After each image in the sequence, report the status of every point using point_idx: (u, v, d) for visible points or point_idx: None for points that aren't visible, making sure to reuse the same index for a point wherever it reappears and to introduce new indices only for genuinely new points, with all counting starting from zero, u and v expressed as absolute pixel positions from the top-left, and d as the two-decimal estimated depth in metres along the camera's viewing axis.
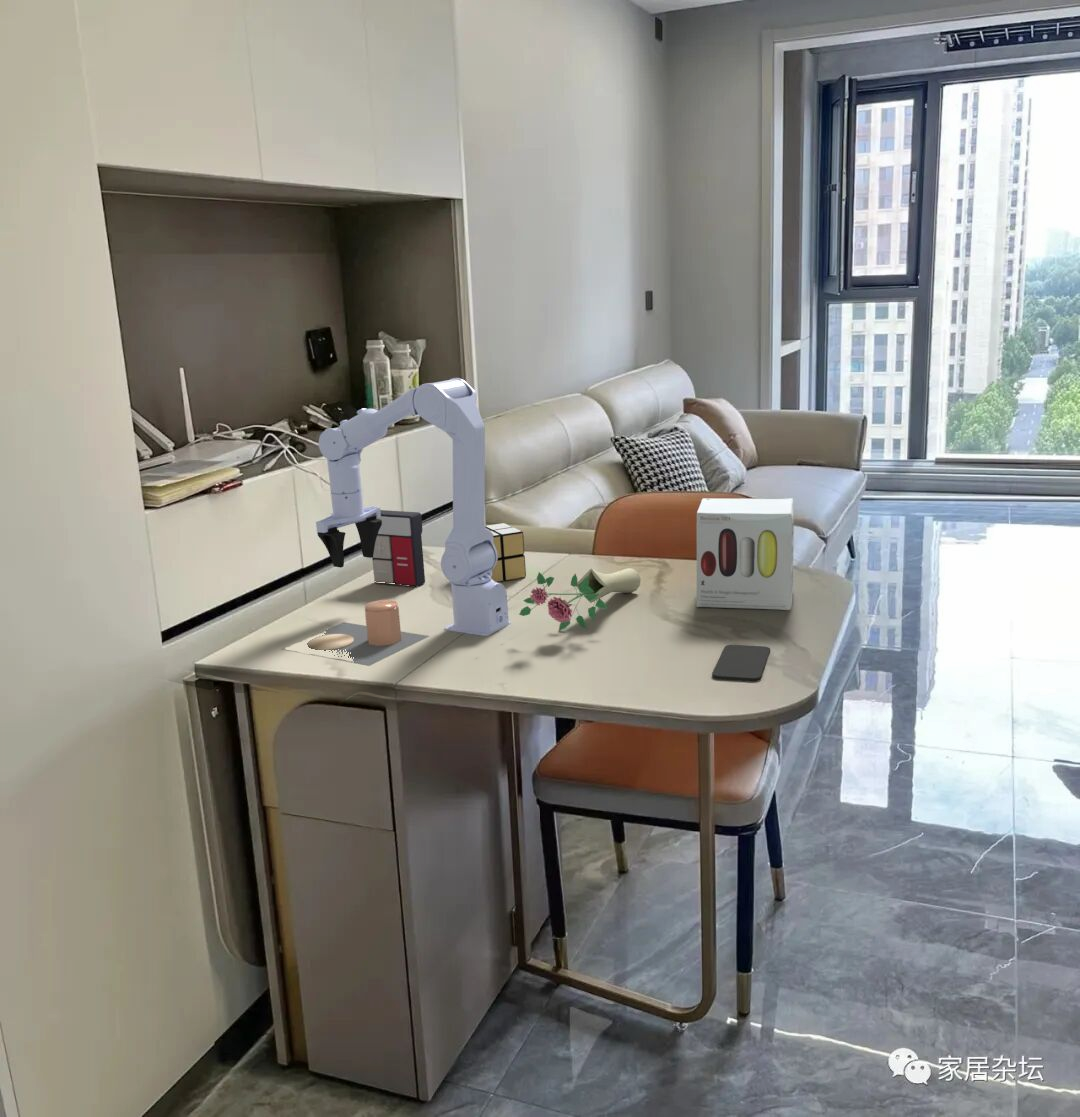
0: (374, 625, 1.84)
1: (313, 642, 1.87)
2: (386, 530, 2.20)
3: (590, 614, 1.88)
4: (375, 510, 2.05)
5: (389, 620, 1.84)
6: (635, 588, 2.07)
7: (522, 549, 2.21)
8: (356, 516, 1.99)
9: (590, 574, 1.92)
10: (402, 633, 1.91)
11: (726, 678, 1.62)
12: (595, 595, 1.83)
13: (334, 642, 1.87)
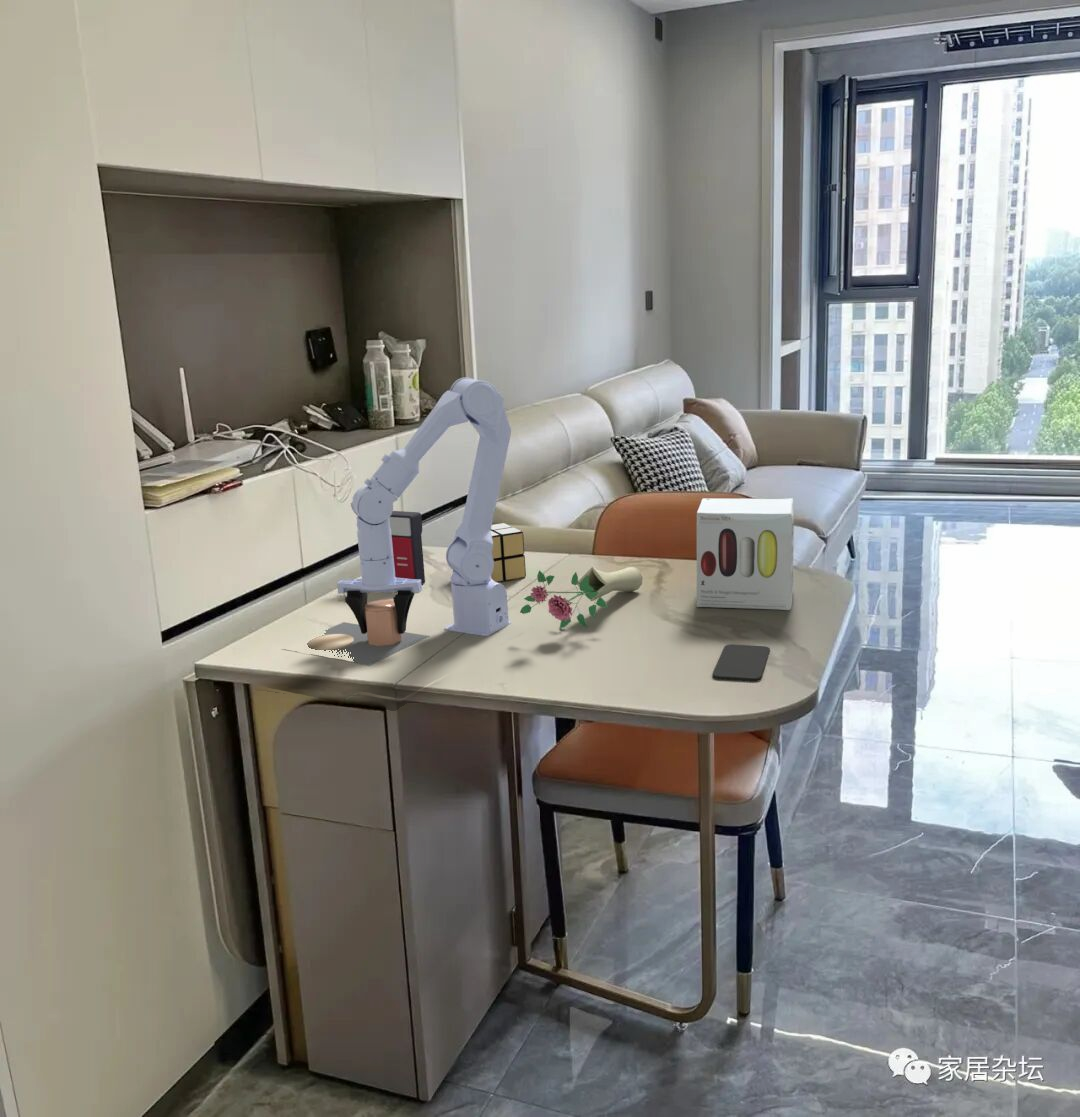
0: (374, 625, 1.84)
1: (313, 642, 1.87)
2: None
3: (591, 612, 1.89)
4: (409, 584, 1.83)
5: (389, 620, 1.84)
6: (637, 587, 2.08)
7: (522, 549, 2.21)
8: (370, 586, 1.82)
9: (591, 573, 1.93)
10: None
11: (726, 678, 1.62)
12: (595, 593, 1.84)
13: (334, 642, 1.87)
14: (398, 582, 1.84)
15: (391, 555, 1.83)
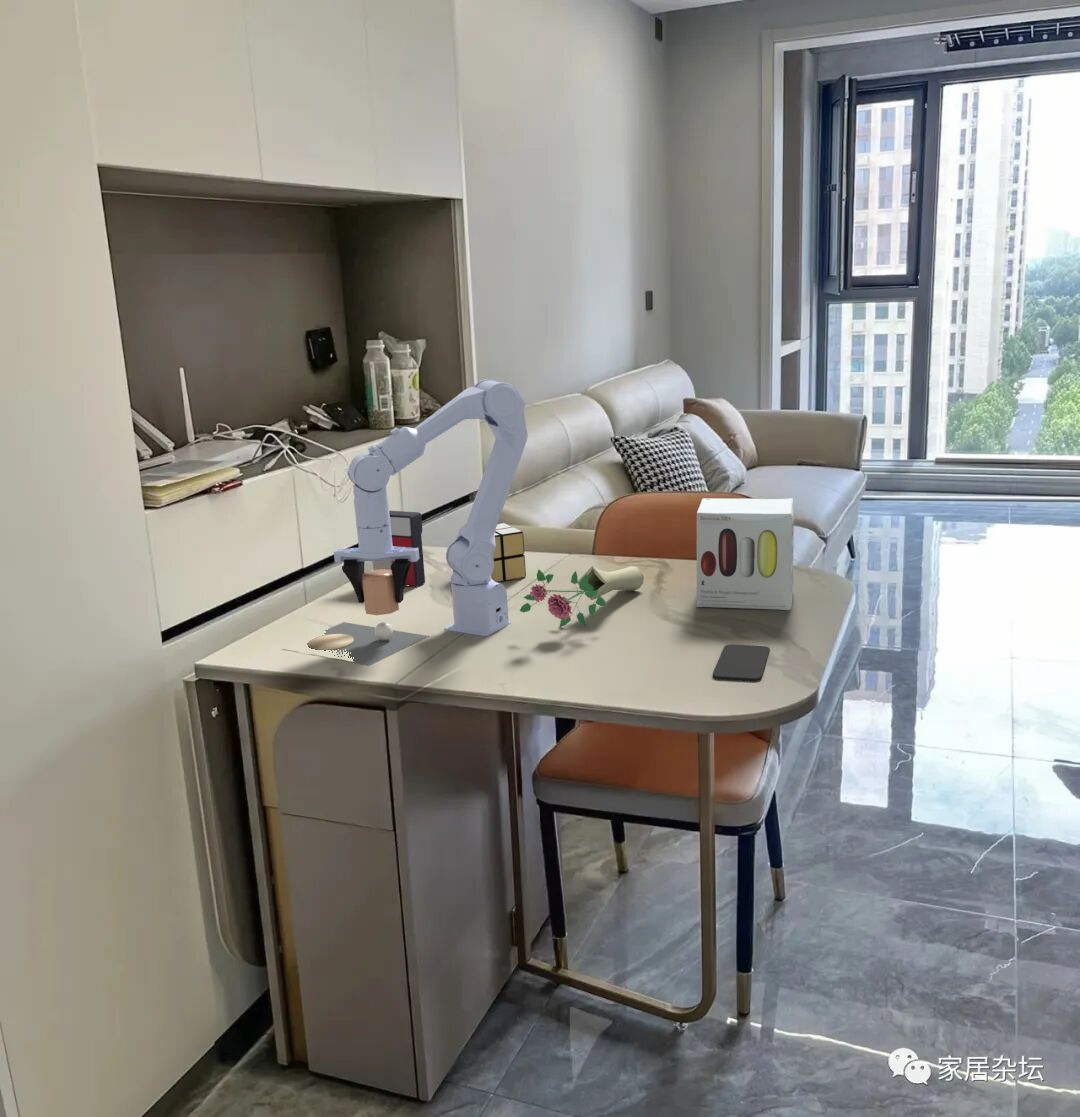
0: (371, 594, 1.83)
1: (313, 642, 1.87)
2: None
3: (590, 611, 1.89)
4: (406, 553, 1.81)
5: (386, 589, 1.83)
6: (638, 586, 2.08)
7: (522, 549, 2.21)
8: (367, 554, 1.81)
9: (591, 572, 1.94)
10: (402, 633, 1.91)
11: (727, 678, 1.62)
12: (595, 592, 1.85)
13: (334, 642, 1.87)
14: (395, 550, 1.83)
15: (388, 523, 1.81)
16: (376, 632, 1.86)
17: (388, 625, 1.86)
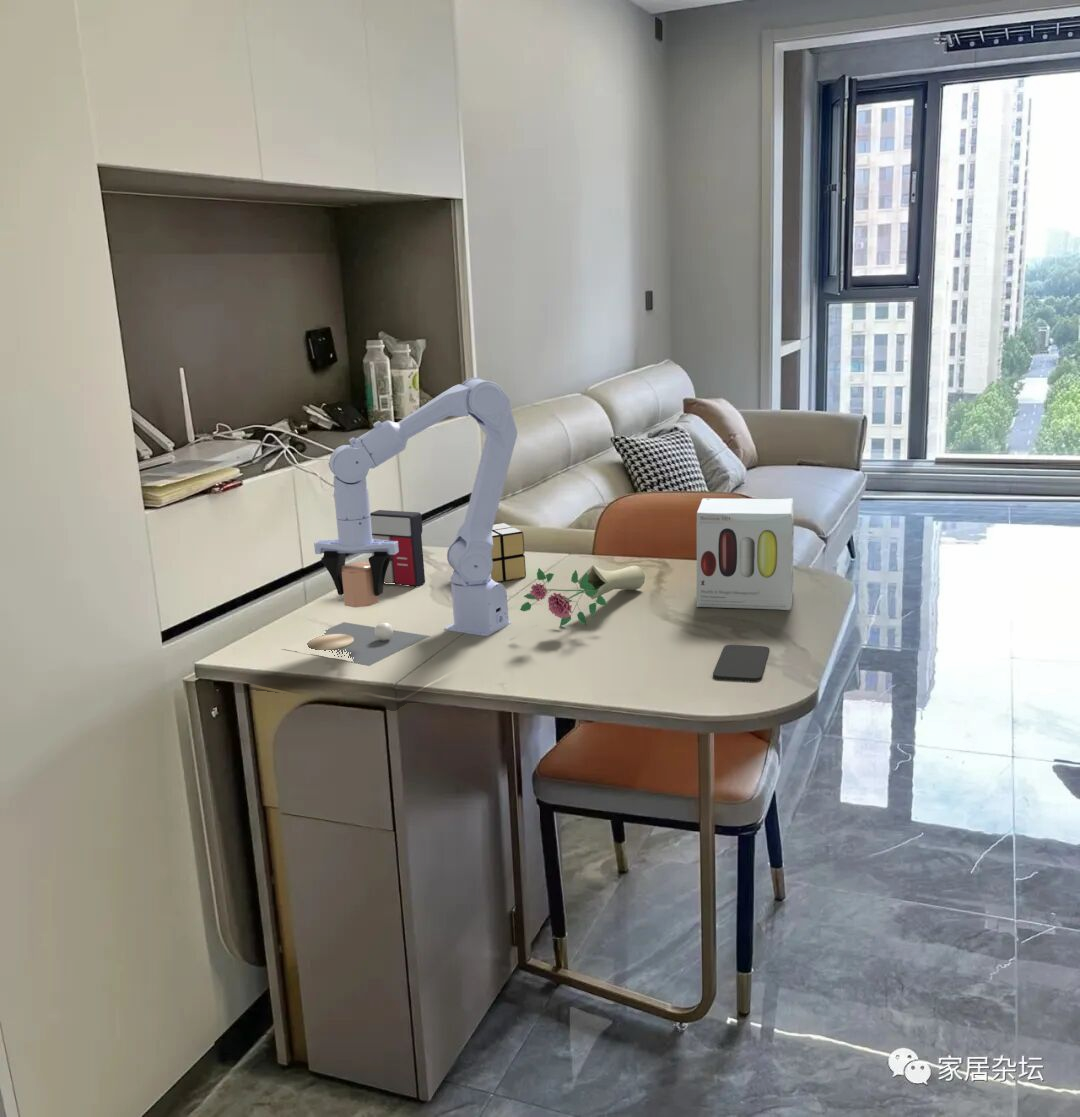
0: (350, 586, 1.82)
1: (313, 642, 1.87)
2: (386, 530, 2.20)
3: (591, 610, 1.90)
4: (385, 546, 1.81)
5: (365, 581, 1.82)
6: (639, 585, 2.09)
7: (522, 549, 2.21)
8: (345, 546, 1.81)
9: (592, 571, 1.94)
10: (402, 633, 1.91)
11: (727, 678, 1.62)
12: (595, 591, 1.85)
13: (334, 642, 1.87)
14: (374, 543, 1.82)
15: (367, 515, 1.81)
16: (376, 632, 1.86)
17: (388, 625, 1.86)
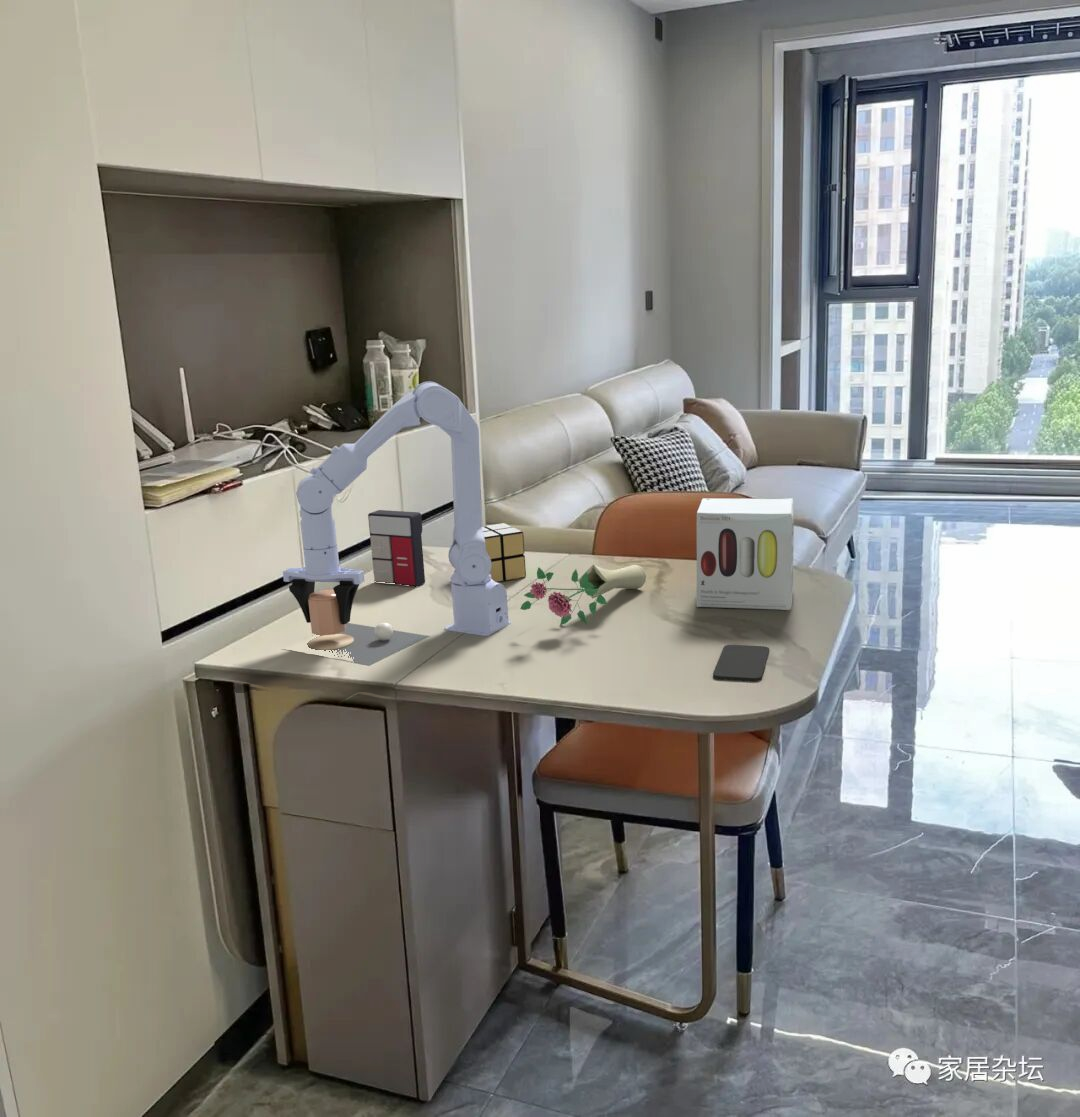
0: (316, 614, 1.84)
1: (313, 642, 1.87)
2: (386, 530, 2.20)
3: (591, 609, 1.90)
4: (350, 575, 1.82)
5: (330, 610, 1.83)
6: (640, 584, 2.09)
7: (522, 549, 2.21)
8: (311, 575, 1.82)
9: (592, 570, 1.95)
10: (402, 633, 1.91)
11: (727, 678, 1.62)
12: (595, 590, 1.86)
13: (334, 642, 1.87)
14: (340, 572, 1.83)
15: (333, 545, 1.82)
16: (376, 632, 1.86)
17: (388, 625, 1.86)
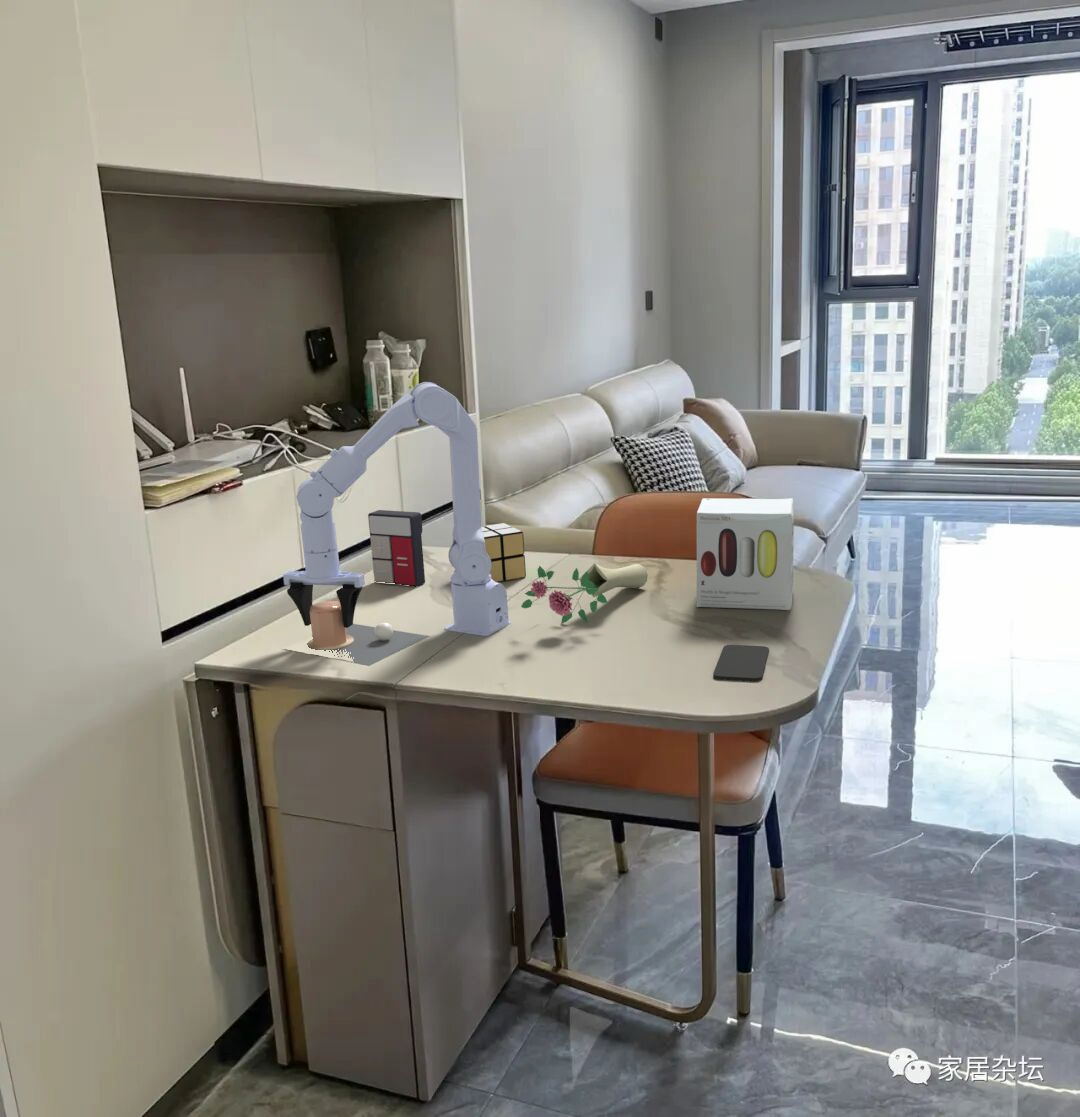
0: (317, 626, 1.84)
1: None
2: (386, 530, 2.20)
3: (592, 608, 1.91)
4: (350, 578, 1.82)
5: (332, 622, 1.84)
6: (642, 584, 2.10)
7: (522, 549, 2.21)
8: (311, 578, 1.82)
9: (594, 569, 1.95)
10: (402, 633, 1.91)
11: (727, 678, 1.62)
12: (595, 589, 1.87)
13: None
14: (341, 575, 1.83)
15: (334, 548, 1.82)
16: (376, 632, 1.86)
17: (388, 625, 1.86)
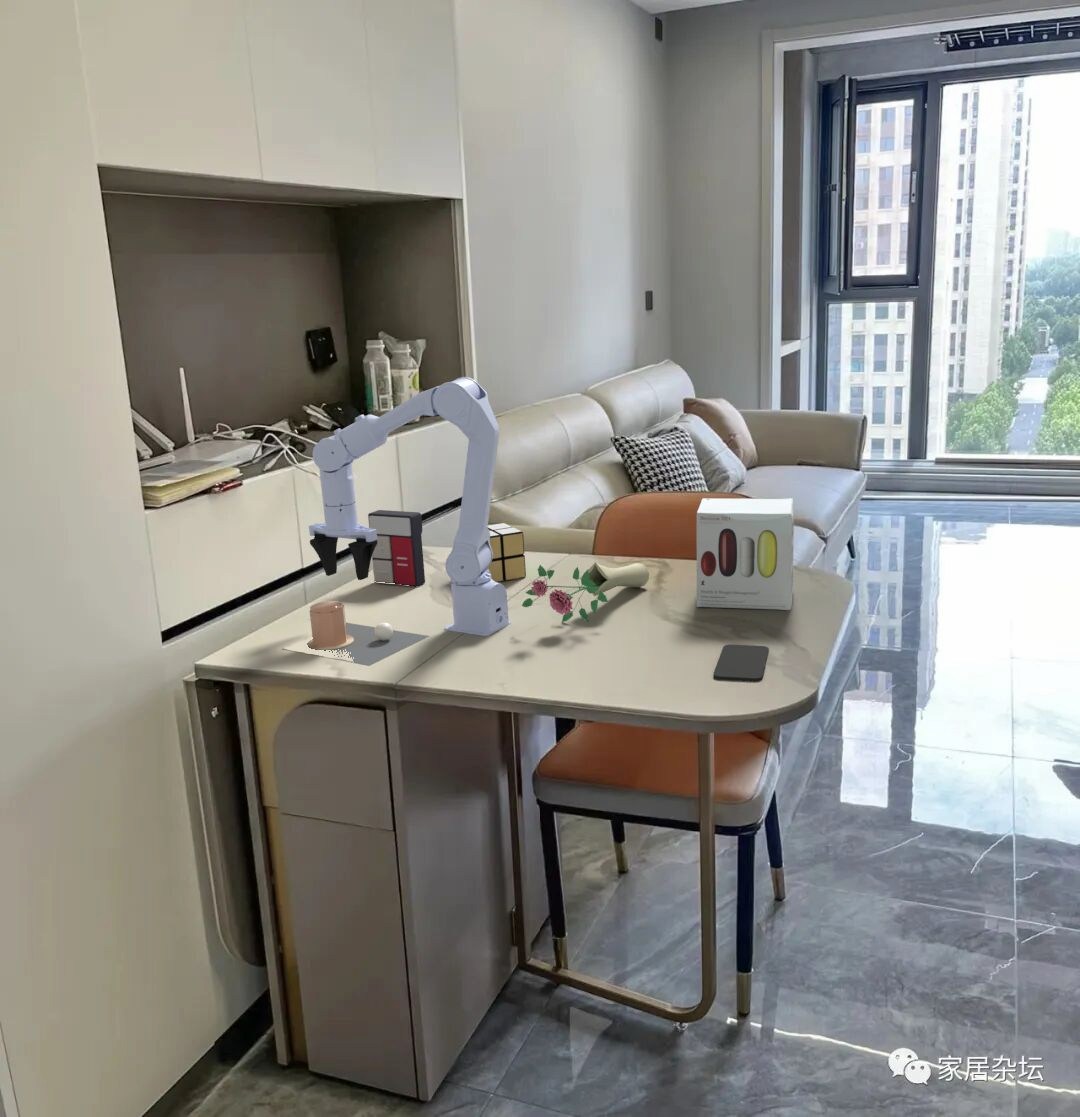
0: (317, 626, 1.84)
1: None
2: (386, 530, 2.20)
3: (592, 607, 1.92)
4: (362, 533, 1.89)
5: (332, 622, 1.84)
6: (643, 583, 2.10)
7: (522, 549, 2.21)
8: (328, 530, 1.91)
9: (594, 568, 1.96)
10: (402, 633, 1.91)
11: (728, 678, 1.62)
12: (596, 588, 1.87)
13: None
14: (356, 530, 1.91)
15: (347, 503, 1.90)
16: (376, 632, 1.86)
17: (388, 625, 1.86)
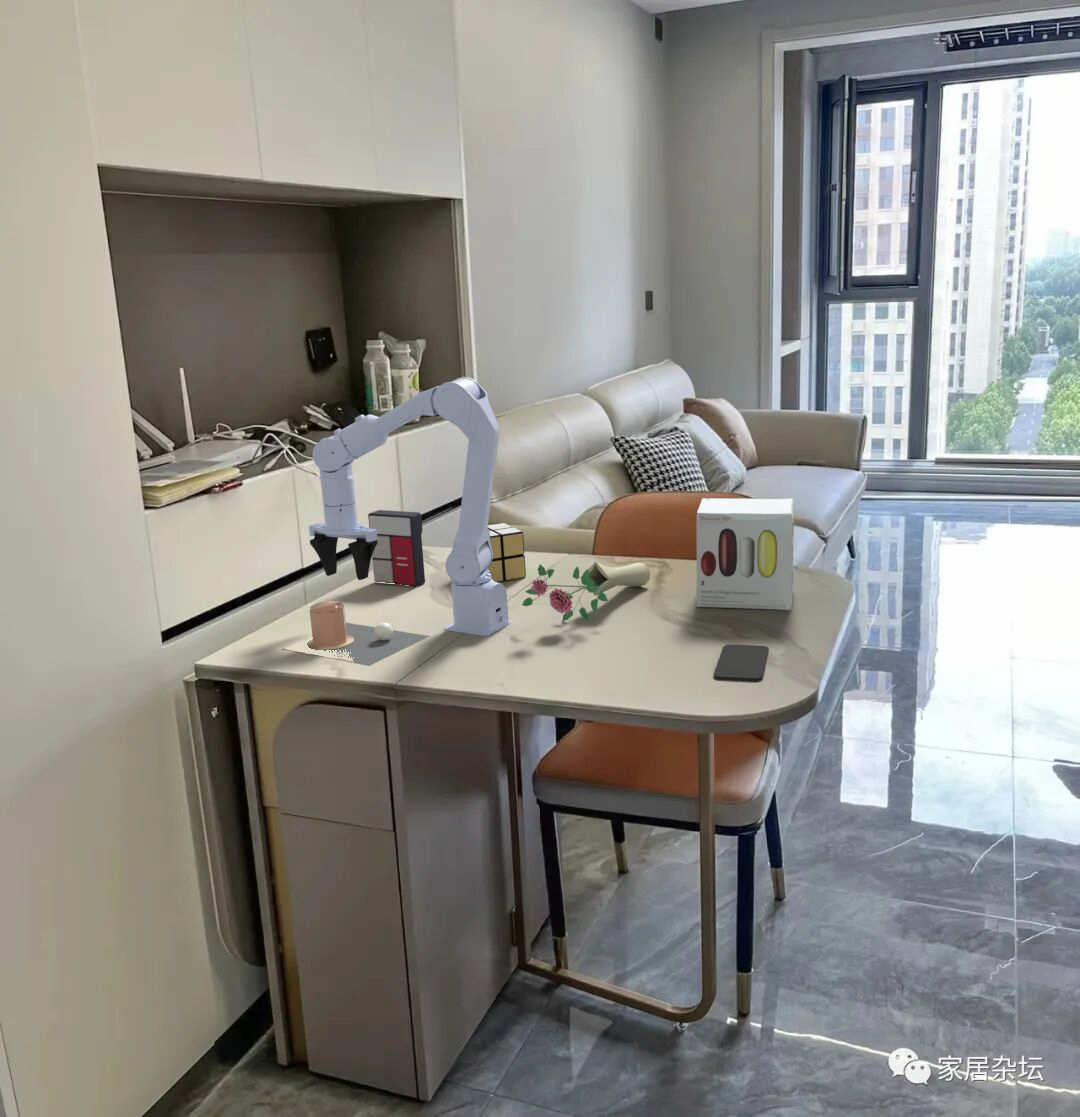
0: (317, 626, 1.84)
1: None
2: (386, 530, 2.20)
3: (592, 606, 1.92)
4: (362, 533, 1.89)
5: (332, 622, 1.84)
6: (644, 582, 2.11)
7: (522, 549, 2.21)
8: (328, 530, 1.91)
9: (595, 567, 1.97)
10: (402, 633, 1.91)
11: (728, 679, 1.62)
12: (596, 587, 1.88)
13: None
14: (356, 530, 1.91)
15: (347, 503, 1.90)
16: (376, 632, 1.86)
17: (388, 625, 1.86)
